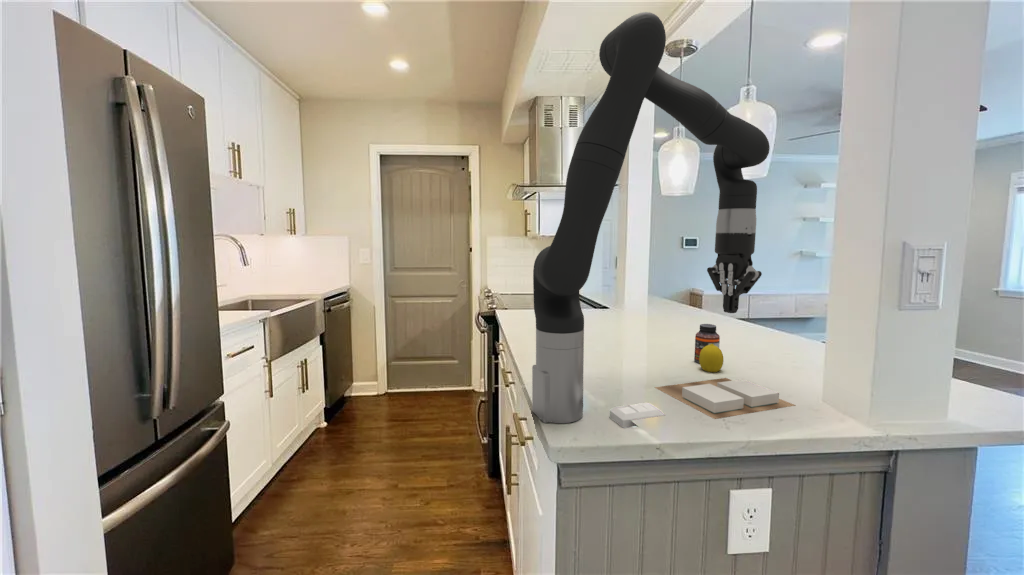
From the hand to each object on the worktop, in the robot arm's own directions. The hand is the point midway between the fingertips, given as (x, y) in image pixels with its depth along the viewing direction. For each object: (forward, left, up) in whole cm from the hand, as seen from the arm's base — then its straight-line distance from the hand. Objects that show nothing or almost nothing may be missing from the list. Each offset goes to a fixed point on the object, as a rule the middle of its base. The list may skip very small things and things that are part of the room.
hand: (730, 312), depth 94 cm
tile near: (-9, -1, -16) cm, 18 cm away
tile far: (0, -1, -16) cm, 16 cm away
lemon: (+7, +12, -19) cm, 23 cm away
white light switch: (-26, -5, -19) cm, 32 cm away
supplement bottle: (+11, +18, -19) cm, 28 cm away
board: (-4, -3, -18) cm, 19 cm away
